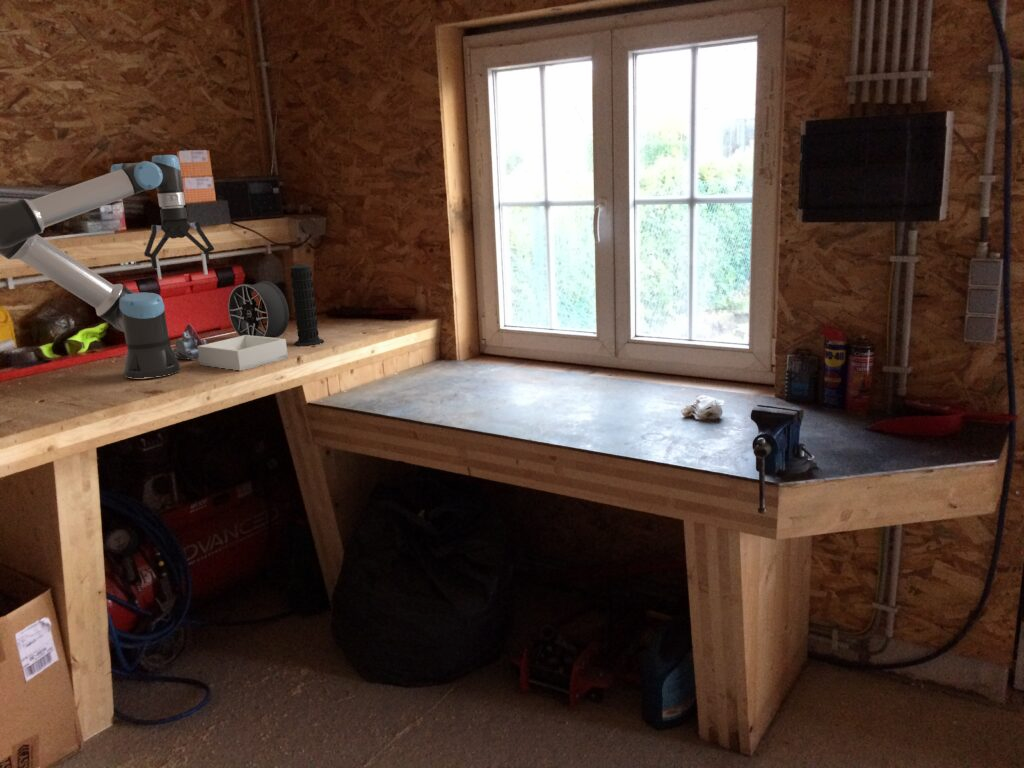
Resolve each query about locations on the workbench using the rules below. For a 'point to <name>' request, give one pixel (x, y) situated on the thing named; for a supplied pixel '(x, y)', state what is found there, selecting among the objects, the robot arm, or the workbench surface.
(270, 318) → the wheel rim
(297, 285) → the handle grip
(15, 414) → the workbench surface
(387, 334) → the workbench surface
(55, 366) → the workbench surface
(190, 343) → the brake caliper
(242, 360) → the bin
